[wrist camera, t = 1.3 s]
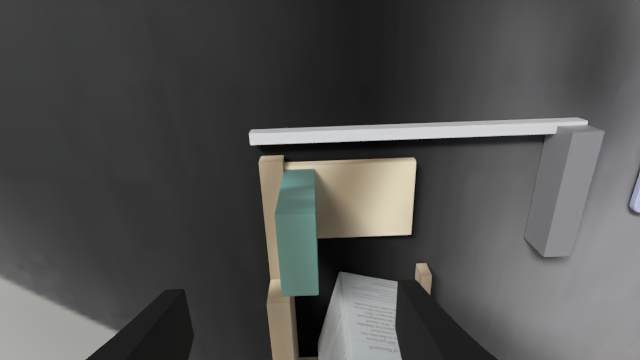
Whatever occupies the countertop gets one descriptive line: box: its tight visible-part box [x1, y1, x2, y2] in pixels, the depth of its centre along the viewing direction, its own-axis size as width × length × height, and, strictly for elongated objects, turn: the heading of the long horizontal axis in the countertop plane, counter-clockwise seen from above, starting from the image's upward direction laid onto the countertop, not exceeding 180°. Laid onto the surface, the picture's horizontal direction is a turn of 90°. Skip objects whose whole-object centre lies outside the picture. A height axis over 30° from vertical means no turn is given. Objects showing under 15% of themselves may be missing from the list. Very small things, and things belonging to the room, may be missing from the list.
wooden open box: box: [259, 155, 432, 360], centre depth 20 cm, size 9×15×6 cm, turn 2°
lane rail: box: [249, 117, 605, 257], centre depth 19 cm, size 17×7×2 cm, turn 92°
